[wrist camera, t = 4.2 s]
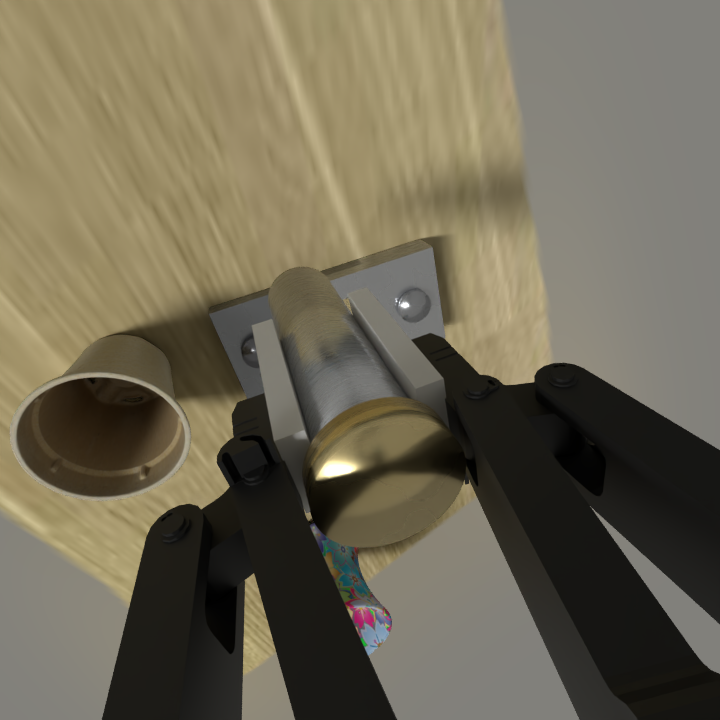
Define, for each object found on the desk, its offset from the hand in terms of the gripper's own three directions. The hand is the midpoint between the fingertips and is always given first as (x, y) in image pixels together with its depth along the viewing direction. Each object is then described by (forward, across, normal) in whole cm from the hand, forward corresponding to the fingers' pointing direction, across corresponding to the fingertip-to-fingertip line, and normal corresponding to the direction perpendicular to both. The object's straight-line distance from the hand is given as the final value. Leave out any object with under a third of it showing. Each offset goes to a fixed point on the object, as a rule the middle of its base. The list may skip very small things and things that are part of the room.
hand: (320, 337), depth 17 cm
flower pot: (+18, -13, -7) cm, 24 cm away
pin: (+4, 0, 0) cm, 4 cm away
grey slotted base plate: (+18, +2, -8) cm, 20 cm away
